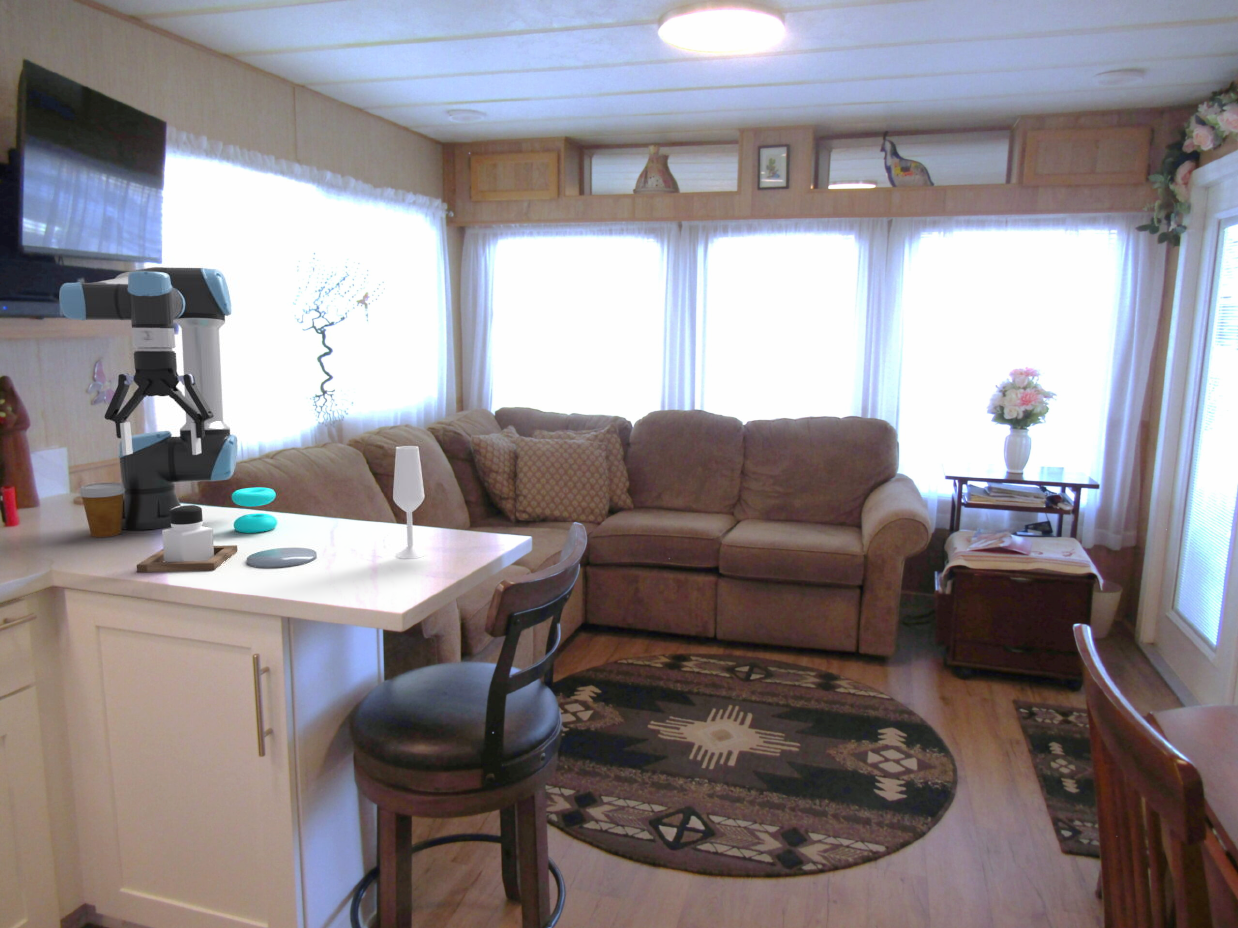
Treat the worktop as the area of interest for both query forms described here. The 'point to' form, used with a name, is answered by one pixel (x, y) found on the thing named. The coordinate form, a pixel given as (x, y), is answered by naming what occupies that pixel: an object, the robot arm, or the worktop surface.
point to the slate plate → (281, 557)
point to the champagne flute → (408, 492)
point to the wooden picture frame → (158, 565)
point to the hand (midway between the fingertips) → (162, 454)
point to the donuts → (257, 520)
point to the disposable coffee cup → (103, 508)
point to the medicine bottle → (187, 536)
